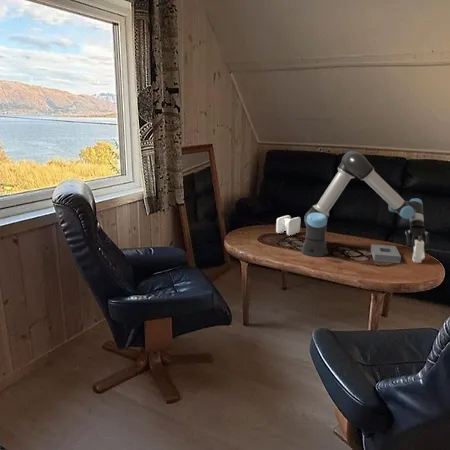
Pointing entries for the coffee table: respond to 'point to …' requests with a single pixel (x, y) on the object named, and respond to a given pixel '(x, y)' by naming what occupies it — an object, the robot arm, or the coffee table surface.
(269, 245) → the coffee table surface
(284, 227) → the cable organizer
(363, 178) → the robot arm
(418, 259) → the plug
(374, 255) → the socket panel
